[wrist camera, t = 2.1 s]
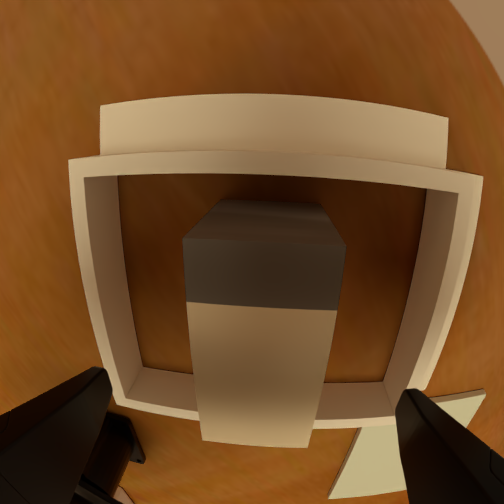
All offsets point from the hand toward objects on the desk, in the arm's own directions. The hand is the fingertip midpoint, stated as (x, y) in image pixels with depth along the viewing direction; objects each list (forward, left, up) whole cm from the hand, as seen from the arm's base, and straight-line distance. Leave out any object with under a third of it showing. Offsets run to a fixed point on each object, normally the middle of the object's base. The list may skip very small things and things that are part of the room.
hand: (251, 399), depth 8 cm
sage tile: (-15, -12, -8) cm, 21 cm away
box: (0, 0, -8) cm, 8 cm away
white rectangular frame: (+1, -1, -8) cm, 8 cm away
